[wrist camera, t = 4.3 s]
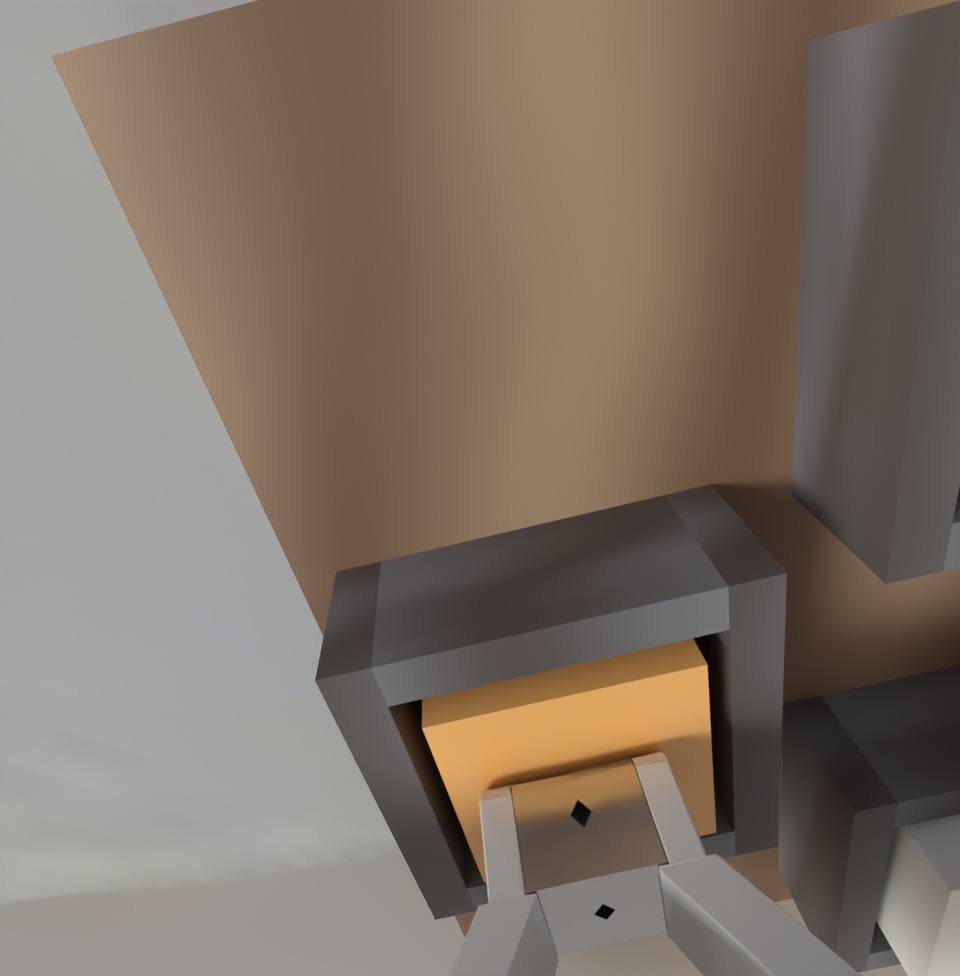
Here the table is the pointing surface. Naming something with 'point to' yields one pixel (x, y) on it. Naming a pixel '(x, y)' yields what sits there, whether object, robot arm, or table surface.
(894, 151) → the button panel
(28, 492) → the table surface
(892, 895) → the cream button
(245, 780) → the table surface
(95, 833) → the table surface
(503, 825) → the robot arm
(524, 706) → the orange button
